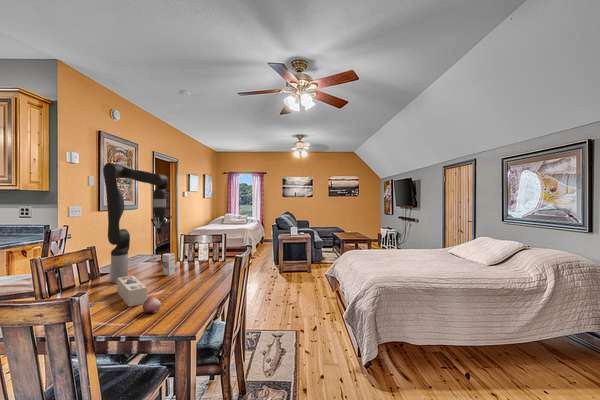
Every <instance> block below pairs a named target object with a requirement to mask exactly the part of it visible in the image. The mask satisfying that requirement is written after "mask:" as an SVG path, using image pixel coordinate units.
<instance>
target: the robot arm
mask: <svg viewBox="0 0 600 400" xmlns="http://www.w3.org/2000/svg"><path fill="white" fill-rule="evenodd" d="M102 173H103V179H104V184H105V191H106V192H105V193H106V205H107V222H108V223H107V226H108V227H107V240H108V242H109V244H110V245H112V246H115V247H114V248H113V249H112V250H111V251H110V267H109V277H110V278H109V280H110V283H111V284H117V278H120V277H127V276H129V250H130V243H131V235H130V232H129V230H127V229H126V228H121V229H120V221H121V218H122V215H124V211H125V200H124V198H125V197H124V196H123V194H122V192H121V190H120V189H119V187H118V184H117V183H118V182H117V179H131V180H132V181H133V180H134V181H136V182H139V183H145V184H149V185H153V186H157V187H156V189H154V191H153V194H152V197H153V201H152V214H153V218H150V221H151V223H152V226H153V227H154V228H156V234H157V235H162V234H163V228H165V227H166V225H167V224H168V222H169V219H168V218H166V214H167V201H166V200H167V198H166V197H167V193H166V192H167V189H168V185H169V178H168V177H167V175H165V174H161V173H152V172H150V171H145V170H138V169H134V168H133V169H132V168H129V167H126V166H123V165H121V164H119V163H112V162H107V163H105V165H103V168H102Z"/></svg>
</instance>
